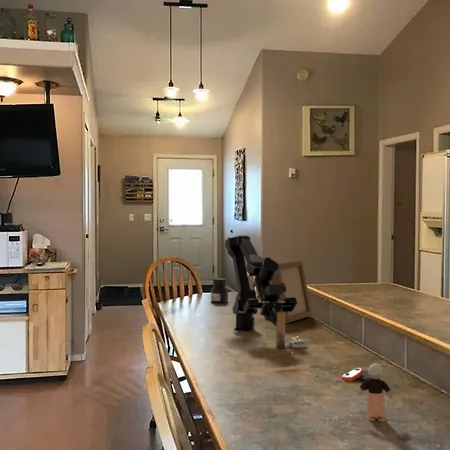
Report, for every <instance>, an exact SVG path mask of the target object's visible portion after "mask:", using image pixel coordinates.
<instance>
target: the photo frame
mask: <svg viewBox="0 0 450 450" xmlns="http://www.w3.org/2000/svg"><path fill="white" fill-rule="evenodd" d="M278 265H279V268H278V270H277V273H276V275H275V277H274V279H273V280H271V284H280V283H285V285H286V292H284V293H282V294H280V295H279V296H280V298H279V299H278V300H277V301H283V300H284V298H285V297H295V298H296V300H297V302H298V303H297V305H296V306H295V308H294V310H293V311H292V312H285V324H289V323H292V322H295V321H298V320H303V319H306V318H309V317H311V316H313V311H312V306H311V301H310V295H309V291H308V284H307V279H306V274H305V267H304V264H303V260H299V261H290V262H284V263H278ZM281 311H282V310H281ZM282 312H284V311H282ZM263 317H264V319H267V318H266V317H265V316H263Z"/></svg>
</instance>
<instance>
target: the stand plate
mask: <svg viewBox="0 0 450 450" xmlns="http://www.w3.org/2000/svg"><path fill="white" fill-rule="evenodd" d="M299 337H300V336H297V335H296V336H295V337H293V336H292V337H291V338H290V340H291V341H302V342H305V341H304V340H303V339H301V338H299ZM294 352H295V351H290V355H294Z"/></svg>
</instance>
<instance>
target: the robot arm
mask: <svg viewBox="0 0 450 450" xmlns="http://www.w3.org/2000/svg"><path fill="white" fill-rule="evenodd" d="M224 246H225V249H226V251H227V254H228V255H229V256H230V257H231V259H232V262H233V267H234V273H235V274H234V275H235V279H236V285H237V291H238V292H237V294H236V296H235V302H234V303H233V307H232V313H233V314H234V315H235V327H234V331H243V332H244V331H246V332H251V331H252V330H253V329H255V317H254V315H257V314H258V309H260V316H263V317H266V318H265V319H267V320H268V321H270V322H271V323H272V325H274V326H275V327H276V312H278V311H281V310H282V311H284V312H292V311H293V310H294V308H295V306H296V305H297V303H298V302H297V300H296V298H295V297H285V298H284V300H283V301H277V300H278V299H279V298H280V296H279V295H280V294H282V293H284V292H286V285H285V283H280V284H272V283H271V280H273V279H274V277H275V275H276V273H277V270H278V268H279V265H278V264H279V263H278V262H276V261H275V260H274V259H272V258H271V257H267V256H266V257H262V256H260V255H259V254H258V252H257V250H256V249H255V247H254V245H253V243H252V241H251V237H250V235H245V234H244V235H243V234H241V235H236V236H229V237H227V239H225V241H224ZM246 263H247V265H246ZM248 275H249V276H248ZM249 277H254V279H253V285H252V286H253V287H255V288H256V290H255V289H252V288H251V286H250V282H249ZM256 293H257V294H256ZM259 300H260V301H259Z"/></svg>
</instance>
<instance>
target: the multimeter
mask: <svg viewBox="0 0 450 450" xmlns="http://www.w3.org/2000/svg"><path fill="white" fill-rule="evenodd" d="M341 378H342V380H340V381H339V383H341V382H343V381H345V382H349V383H351V382H353V381H354V380H356V379H359V380H361V382H362V383H363V382H364V381H366V380H370V379H372V378H371V376H370V375H369V373H368V370H363V368H360V367H355V368H353V369H352V370H350V371H349V372H346V373H344V374H343V375H341V377H338V378H336V379H335V381H337V380H339V379H341ZM380 378H381V377H380ZM380 378H379V380H381V379H380ZM358 385H359V384H357V386H358Z"/></svg>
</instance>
